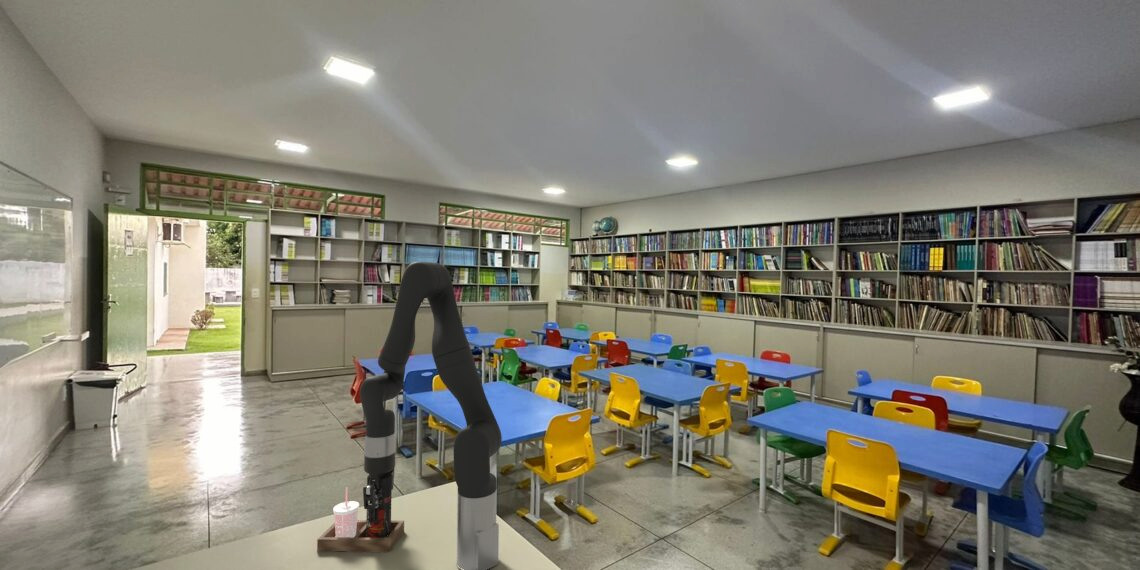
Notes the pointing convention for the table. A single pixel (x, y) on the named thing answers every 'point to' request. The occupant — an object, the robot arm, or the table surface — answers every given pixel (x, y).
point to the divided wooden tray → (360, 539)
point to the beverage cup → (346, 518)
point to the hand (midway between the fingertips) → (379, 515)
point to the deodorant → (381, 509)
